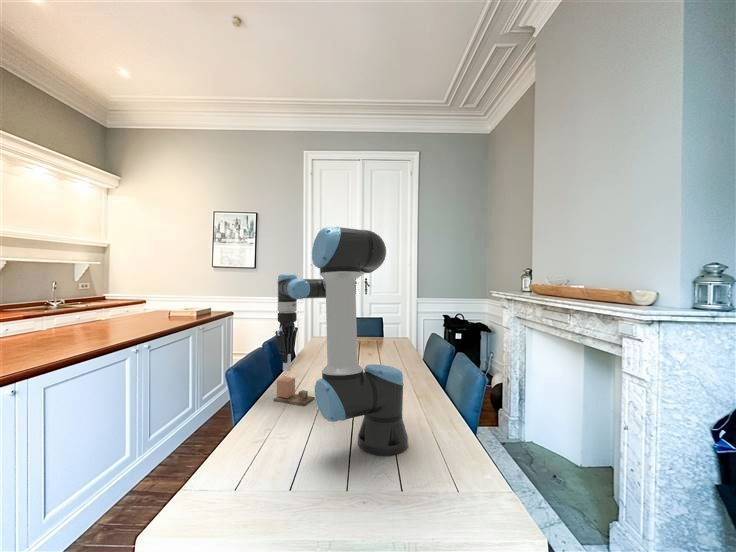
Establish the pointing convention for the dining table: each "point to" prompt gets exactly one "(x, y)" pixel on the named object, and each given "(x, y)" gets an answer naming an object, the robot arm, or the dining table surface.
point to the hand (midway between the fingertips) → (286, 370)
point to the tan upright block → (285, 387)
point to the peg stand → (297, 399)
